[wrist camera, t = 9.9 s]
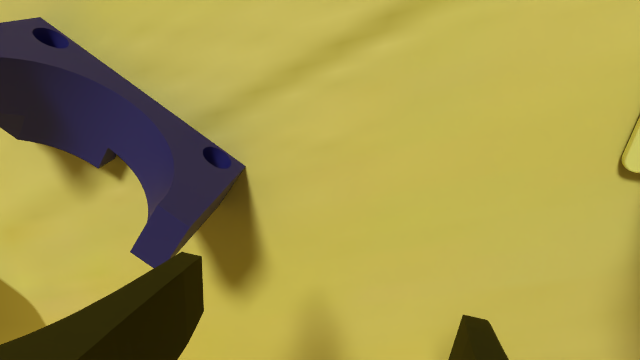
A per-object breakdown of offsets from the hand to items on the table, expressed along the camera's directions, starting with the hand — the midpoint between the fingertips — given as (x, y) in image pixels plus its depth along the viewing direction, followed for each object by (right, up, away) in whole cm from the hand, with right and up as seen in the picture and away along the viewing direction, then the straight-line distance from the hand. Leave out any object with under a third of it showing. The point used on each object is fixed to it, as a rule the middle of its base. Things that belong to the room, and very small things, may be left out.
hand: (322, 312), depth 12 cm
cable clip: (-10, +6, +11) cm, 16 cm away
